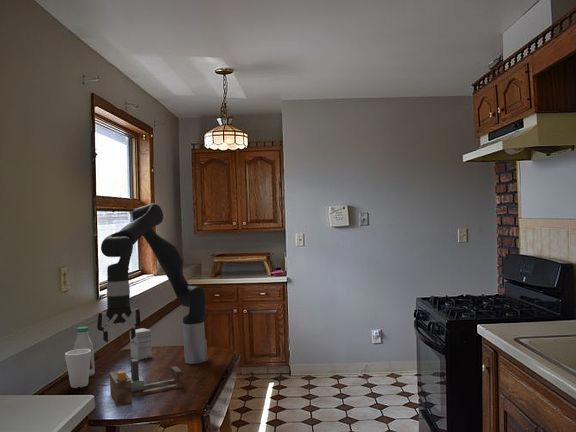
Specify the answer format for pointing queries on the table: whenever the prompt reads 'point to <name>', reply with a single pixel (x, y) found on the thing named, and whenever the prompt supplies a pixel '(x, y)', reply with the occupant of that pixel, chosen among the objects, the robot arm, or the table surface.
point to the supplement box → (141, 344)
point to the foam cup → (78, 367)
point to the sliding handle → (136, 377)
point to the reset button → (121, 376)
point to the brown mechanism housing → (123, 388)
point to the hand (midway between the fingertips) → (119, 340)
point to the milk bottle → (85, 345)
